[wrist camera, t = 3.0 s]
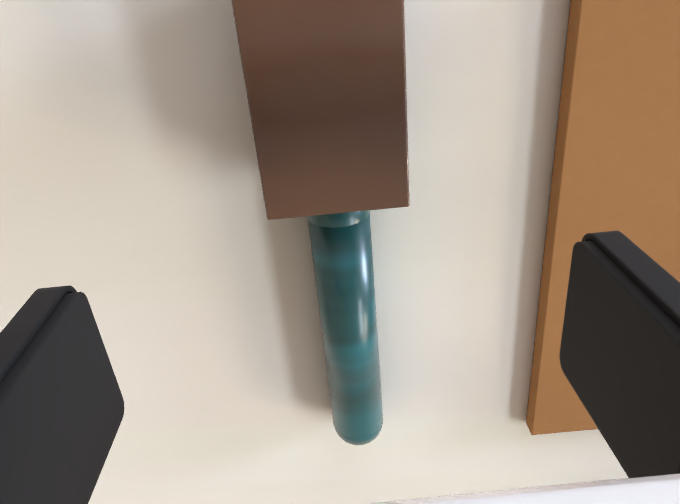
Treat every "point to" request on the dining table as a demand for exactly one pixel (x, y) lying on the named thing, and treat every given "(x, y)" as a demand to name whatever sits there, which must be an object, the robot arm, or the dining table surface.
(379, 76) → the brush
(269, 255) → the dining table surface
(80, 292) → the robot arm
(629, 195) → the cork mat
